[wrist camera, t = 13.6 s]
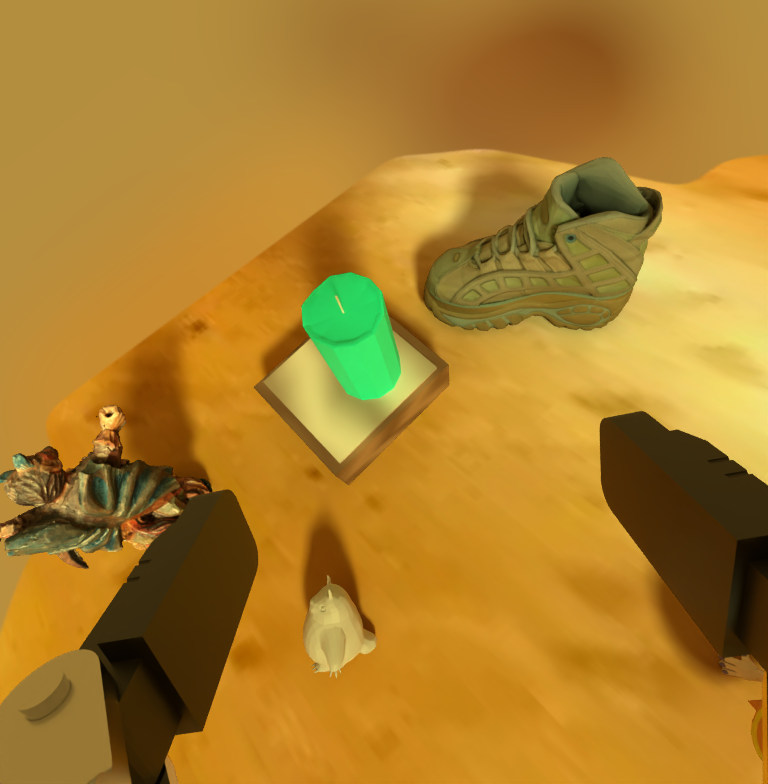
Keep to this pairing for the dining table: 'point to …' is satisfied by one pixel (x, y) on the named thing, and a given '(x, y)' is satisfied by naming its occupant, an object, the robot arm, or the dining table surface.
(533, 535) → the dining table surface
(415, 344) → the wooden square box
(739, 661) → the toy
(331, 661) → the figurine
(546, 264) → the sneaker
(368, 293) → the candle
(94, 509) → the figurine
